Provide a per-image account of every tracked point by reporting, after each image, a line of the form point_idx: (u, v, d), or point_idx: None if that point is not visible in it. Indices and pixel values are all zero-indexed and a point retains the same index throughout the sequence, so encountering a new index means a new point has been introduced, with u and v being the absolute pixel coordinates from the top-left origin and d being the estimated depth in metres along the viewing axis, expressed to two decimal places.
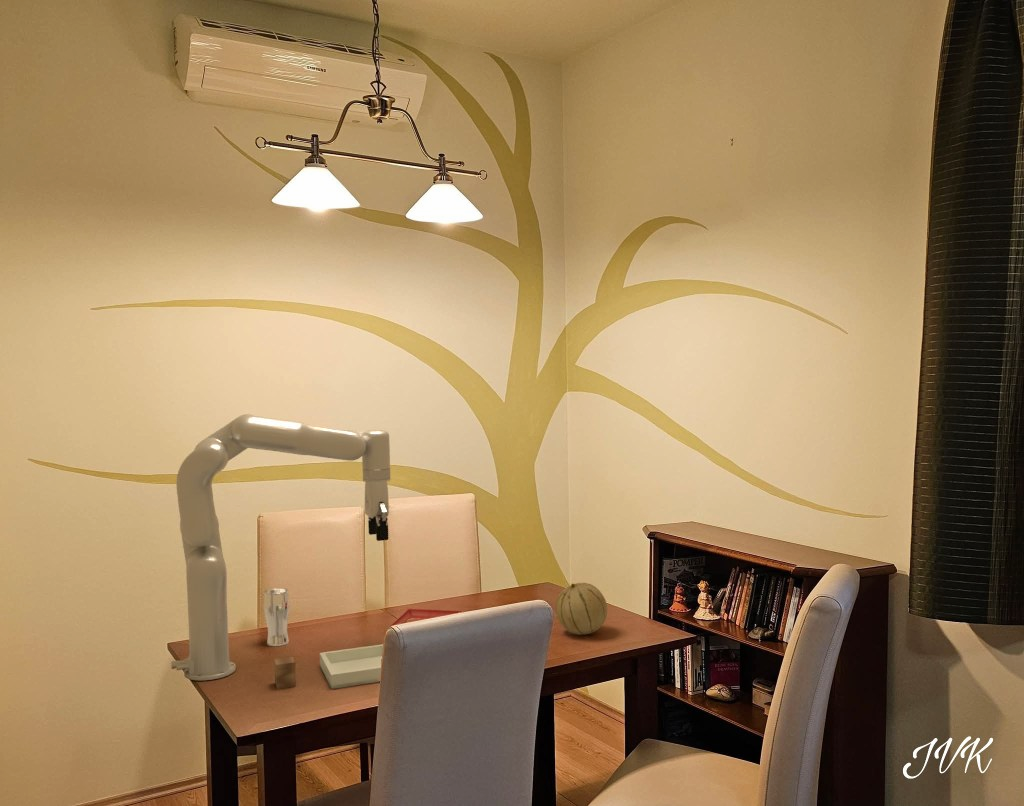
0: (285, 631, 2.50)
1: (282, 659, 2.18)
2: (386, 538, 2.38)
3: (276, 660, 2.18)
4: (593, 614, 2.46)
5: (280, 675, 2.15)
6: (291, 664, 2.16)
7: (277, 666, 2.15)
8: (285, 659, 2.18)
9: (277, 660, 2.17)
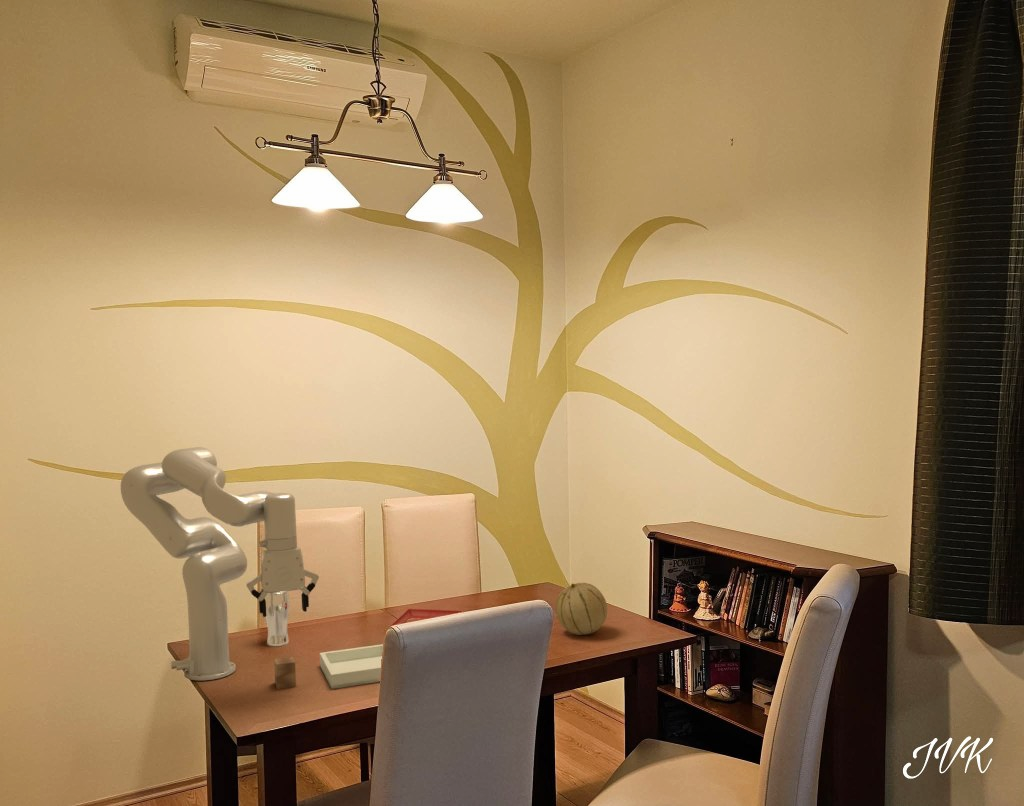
0: (285, 631, 2.50)
1: (282, 659, 2.18)
2: None
3: (276, 660, 2.18)
4: (593, 614, 2.46)
5: (280, 675, 2.15)
6: (291, 664, 2.16)
7: (278, 666, 2.15)
8: (285, 659, 2.18)
9: (277, 660, 2.17)
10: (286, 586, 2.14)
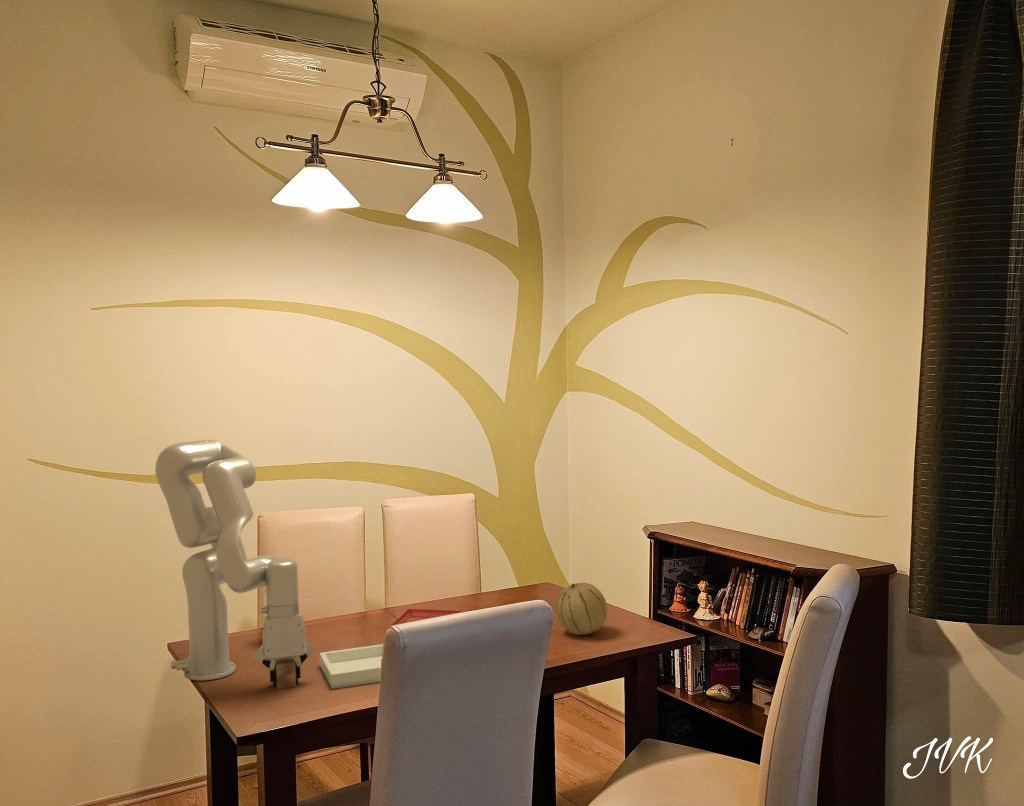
0: None
1: (282, 659, 2.18)
2: None
3: (276, 660, 2.18)
4: (593, 614, 2.46)
5: (280, 675, 2.15)
6: (291, 664, 2.16)
7: (278, 666, 2.15)
8: (285, 659, 2.18)
9: (277, 660, 2.17)
10: (287, 652, 2.15)
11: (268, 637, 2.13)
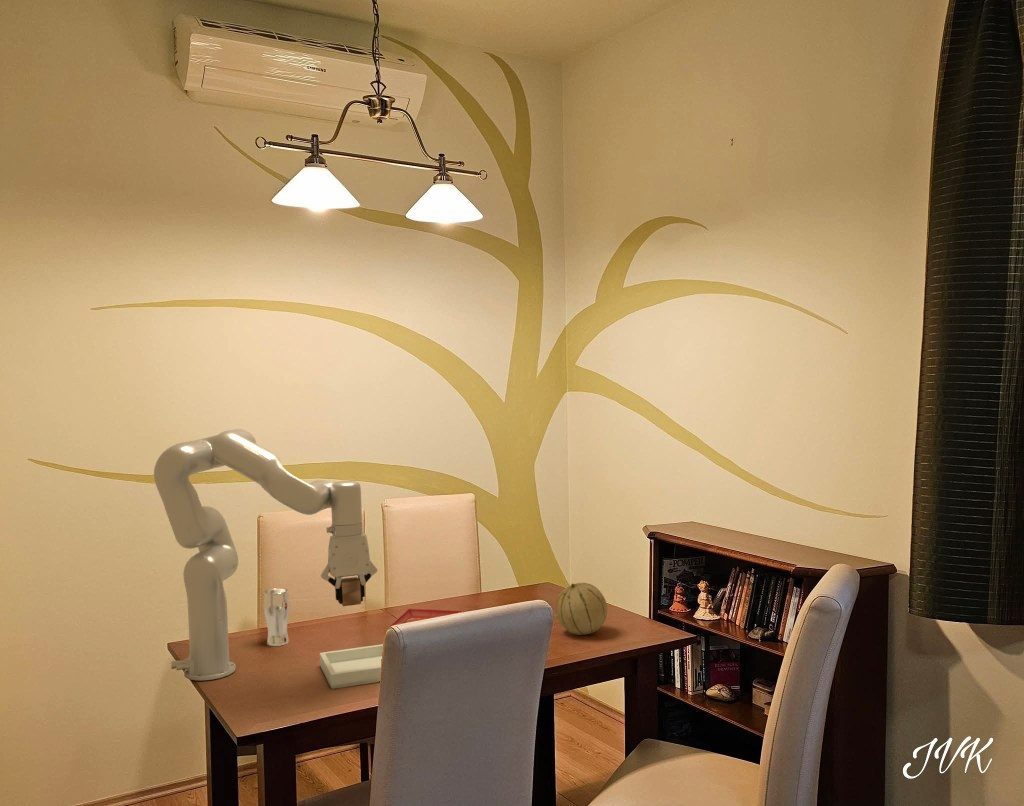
0: (285, 631, 2.50)
1: (347, 578, 2.24)
2: None
3: (341, 579, 2.24)
4: (593, 614, 2.46)
5: (345, 592, 2.21)
6: (356, 583, 2.22)
7: (343, 583, 2.21)
8: (350, 578, 2.24)
9: (342, 579, 2.23)
10: (352, 571, 2.21)
11: (334, 555, 2.19)
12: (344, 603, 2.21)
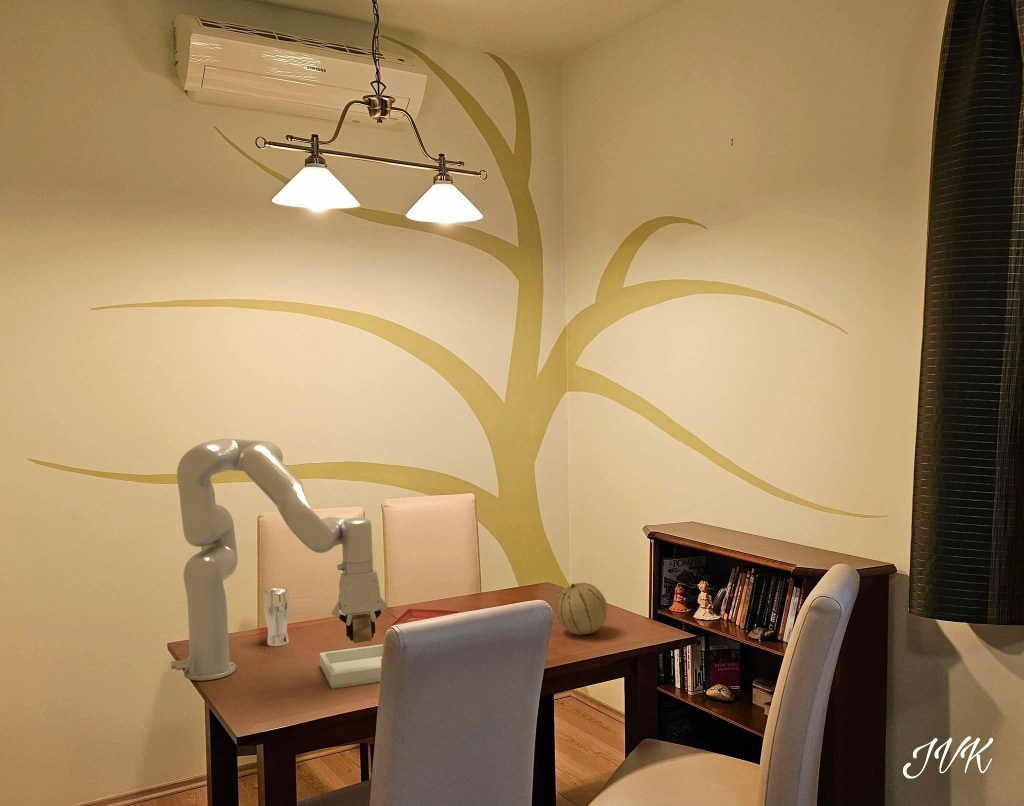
0: (285, 631, 2.50)
1: (357, 615, 2.26)
2: None
3: (352, 616, 2.25)
4: (593, 614, 2.46)
5: (356, 629, 2.22)
6: (367, 619, 2.23)
7: (354, 620, 2.22)
8: (360, 615, 2.26)
9: (353, 616, 2.25)
10: (363, 608, 2.22)
11: (345, 593, 2.21)
12: (355, 640, 2.22)
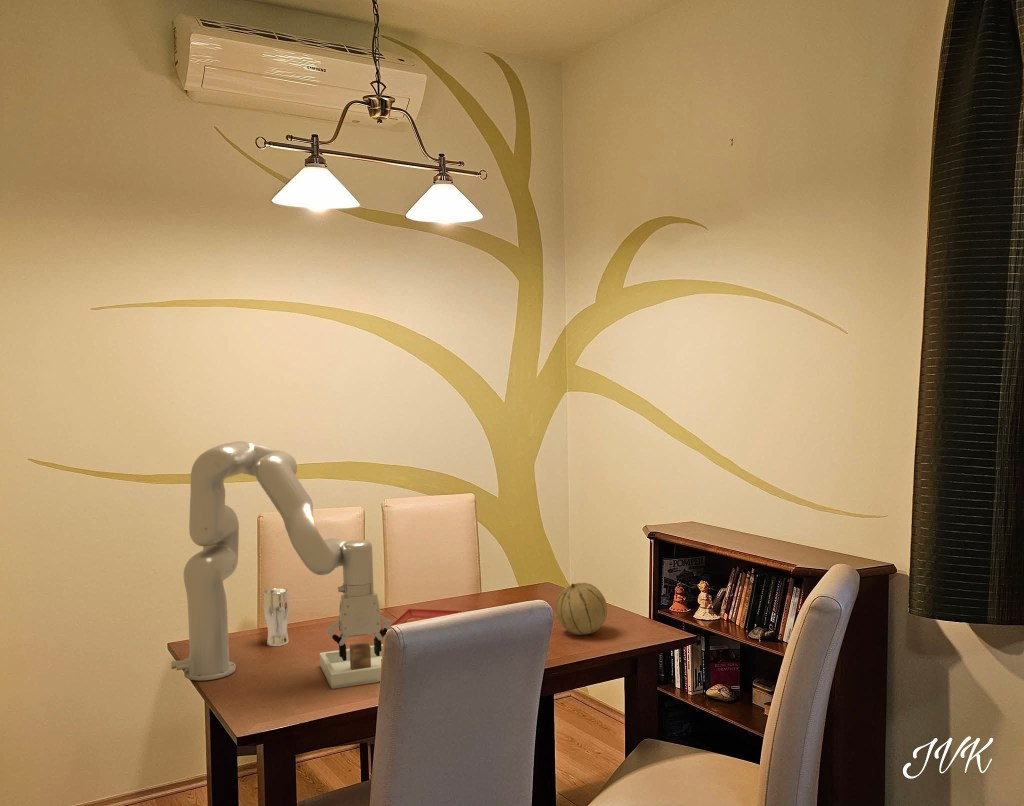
0: (285, 631, 2.50)
1: (357, 644, 2.26)
2: None
3: (351, 645, 2.26)
4: (593, 614, 2.46)
5: (356, 659, 2.23)
6: (366, 649, 2.23)
7: (354, 650, 2.22)
8: (360, 644, 2.26)
9: (353, 645, 2.25)
10: (363, 630, 2.22)
11: (345, 615, 2.21)
12: None
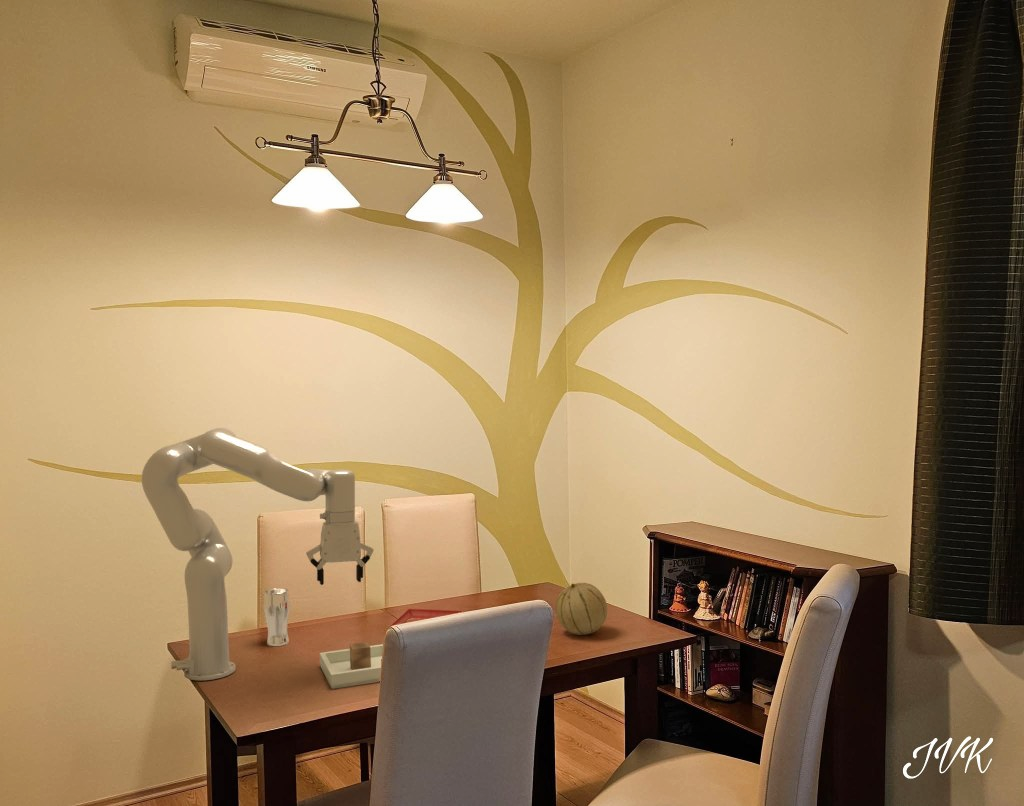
0: (285, 631, 2.50)
1: (357, 644, 2.26)
2: None
3: (351, 645, 2.26)
4: (593, 614, 2.46)
5: (356, 659, 2.23)
6: (366, 649, 2.23)
7: (354, 650, 2.22)
8: (360, 644, 2.26)
9: (353, 645, 2.25)
10: (343, 557, 2.27)
11: (326, 541, 2.26)
12: None
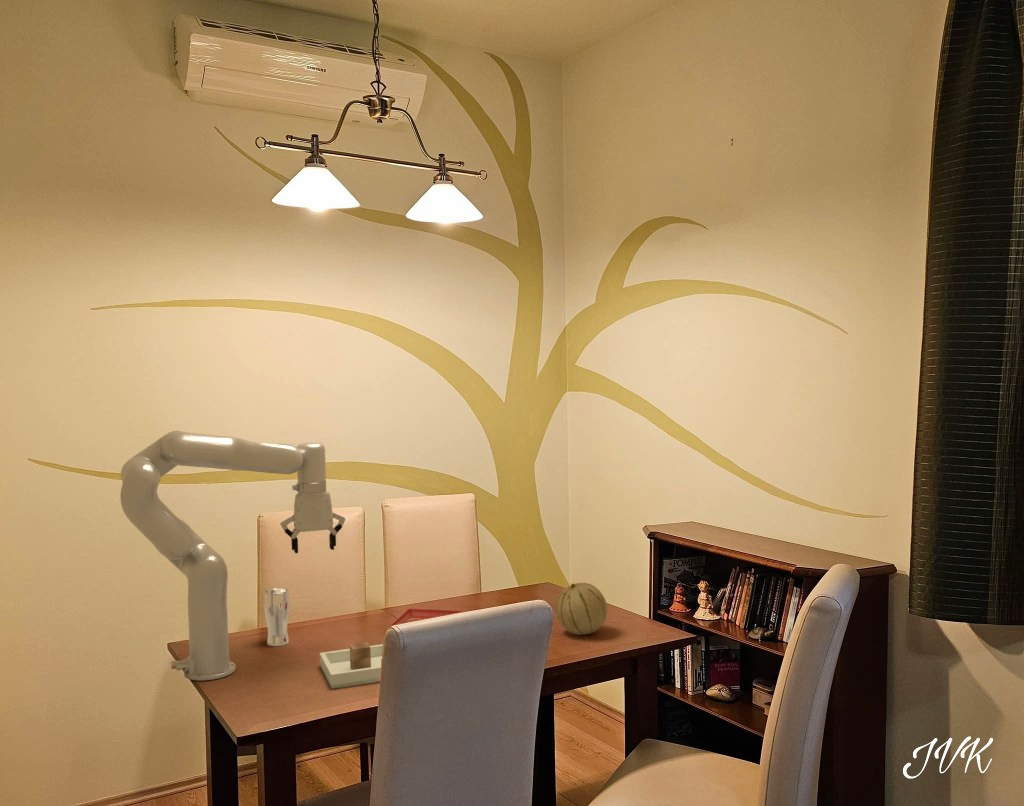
0: (285, 631, 2.50)
1: (357, 644, 2.26)
2: None
3: (351, 645, 2.26)
4: (593, 614, 2.46)
5: (356, 659, 2.23)
6: (366, 649, 2.23)
7: (354, 650, 2.22)
8: (360, 644, 2.26)
9: (353, 645, 2.25)
10: (316, 526, 2.37)
11: (299, 511, 2.36)
12: None
